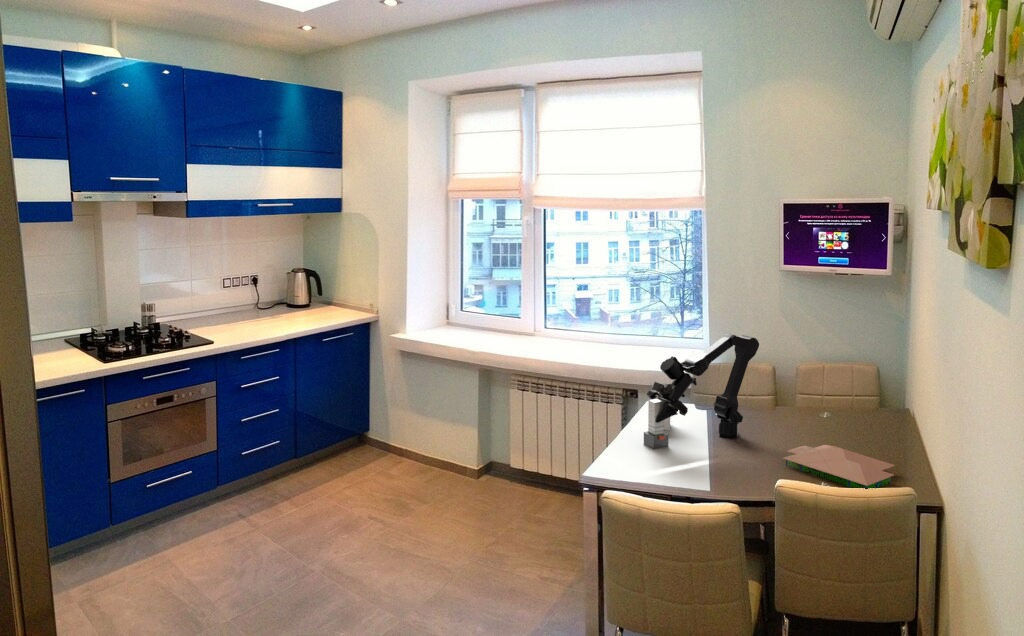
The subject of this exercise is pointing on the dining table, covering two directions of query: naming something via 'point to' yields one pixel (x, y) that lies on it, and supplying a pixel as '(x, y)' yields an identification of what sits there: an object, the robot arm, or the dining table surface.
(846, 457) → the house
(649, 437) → the stand
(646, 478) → the dining table surface
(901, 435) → the dining table surface
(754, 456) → the dining table surface
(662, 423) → the post
